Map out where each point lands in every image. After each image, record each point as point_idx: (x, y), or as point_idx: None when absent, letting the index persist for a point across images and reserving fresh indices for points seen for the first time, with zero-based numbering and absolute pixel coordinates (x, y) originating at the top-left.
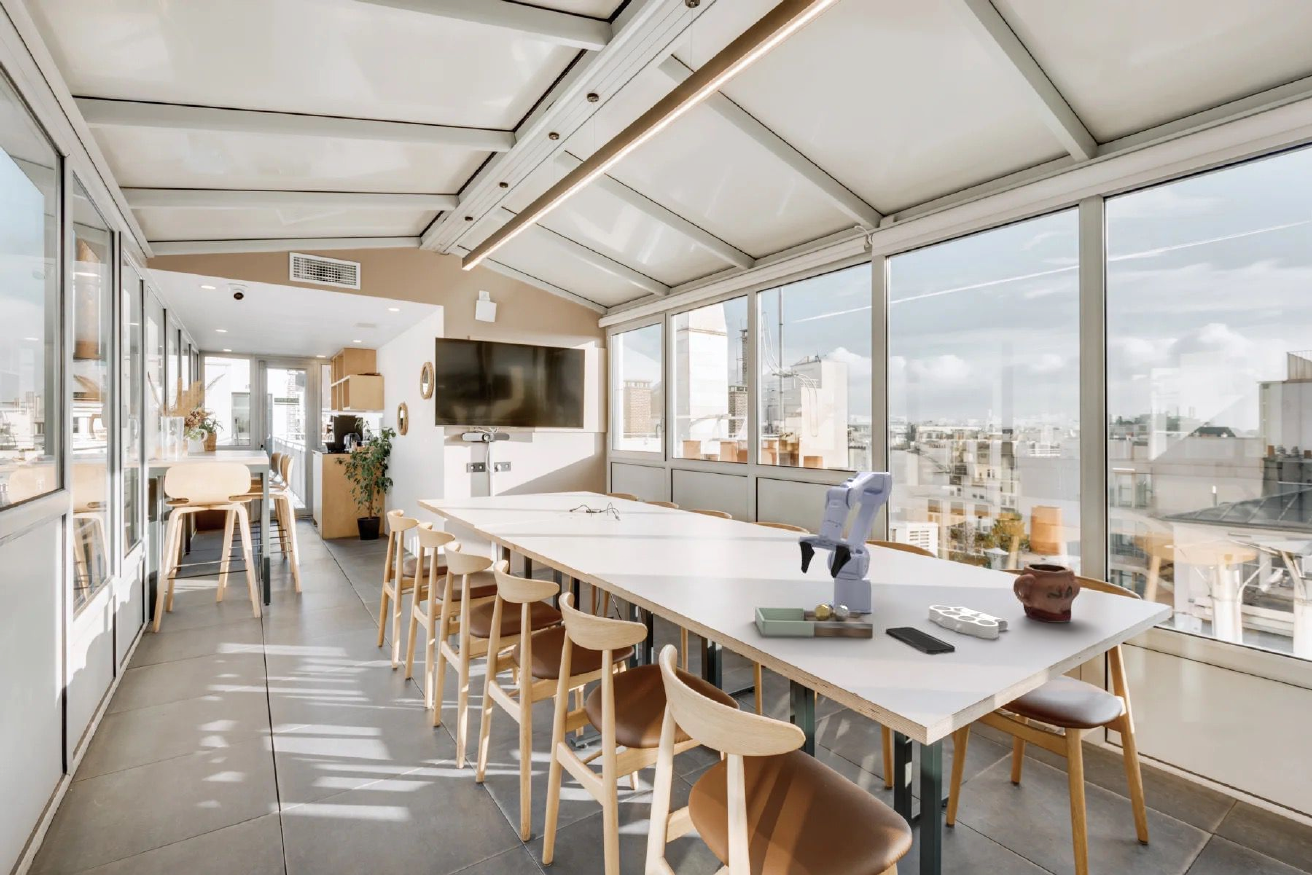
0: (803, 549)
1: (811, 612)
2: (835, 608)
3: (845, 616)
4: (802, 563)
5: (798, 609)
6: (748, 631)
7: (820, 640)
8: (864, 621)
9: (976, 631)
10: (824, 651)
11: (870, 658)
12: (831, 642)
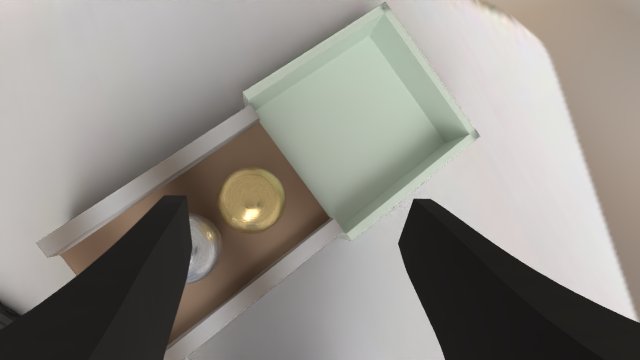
0: (582, 311)
1: (311, 235)
2: (201, 228)
3: None
4: (453, 220)
5: (359, 221)
6: (416, 44)
7: (214, 92)
8: None
9: None
10: (166, 5)
11: (14, 23)
12: (177, 95)
